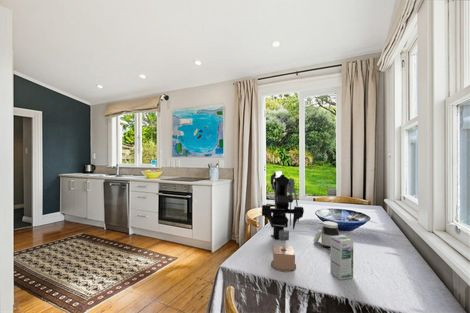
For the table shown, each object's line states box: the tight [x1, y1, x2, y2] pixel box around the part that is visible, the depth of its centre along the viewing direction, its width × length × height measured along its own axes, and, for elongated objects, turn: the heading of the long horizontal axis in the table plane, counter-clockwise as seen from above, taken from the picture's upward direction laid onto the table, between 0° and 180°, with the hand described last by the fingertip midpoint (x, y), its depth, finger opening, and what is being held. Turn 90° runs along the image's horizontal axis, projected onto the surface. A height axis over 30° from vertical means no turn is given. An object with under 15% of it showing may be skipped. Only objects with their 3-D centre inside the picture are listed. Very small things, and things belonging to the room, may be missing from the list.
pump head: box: [279, 229, 290, 251], centre depth 93 cm, size 6×4×8 cm, turn 173°
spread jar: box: [313, 220, 340, 250], centre depth 116 cm, size 12×11×12 cm
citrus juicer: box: [287, 177, 300, 226], centre depth 156 cm, size 11×10×30 cm
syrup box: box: [329, 234, 354, 281], centre depth 87 cm, size 6×6×14 cm
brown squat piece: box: [270, 245, 297, 273], centre depth 94 cm, size 10×10×6 cm
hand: (282, 228), depth 100 cm, fingers open, 9 cm apart
